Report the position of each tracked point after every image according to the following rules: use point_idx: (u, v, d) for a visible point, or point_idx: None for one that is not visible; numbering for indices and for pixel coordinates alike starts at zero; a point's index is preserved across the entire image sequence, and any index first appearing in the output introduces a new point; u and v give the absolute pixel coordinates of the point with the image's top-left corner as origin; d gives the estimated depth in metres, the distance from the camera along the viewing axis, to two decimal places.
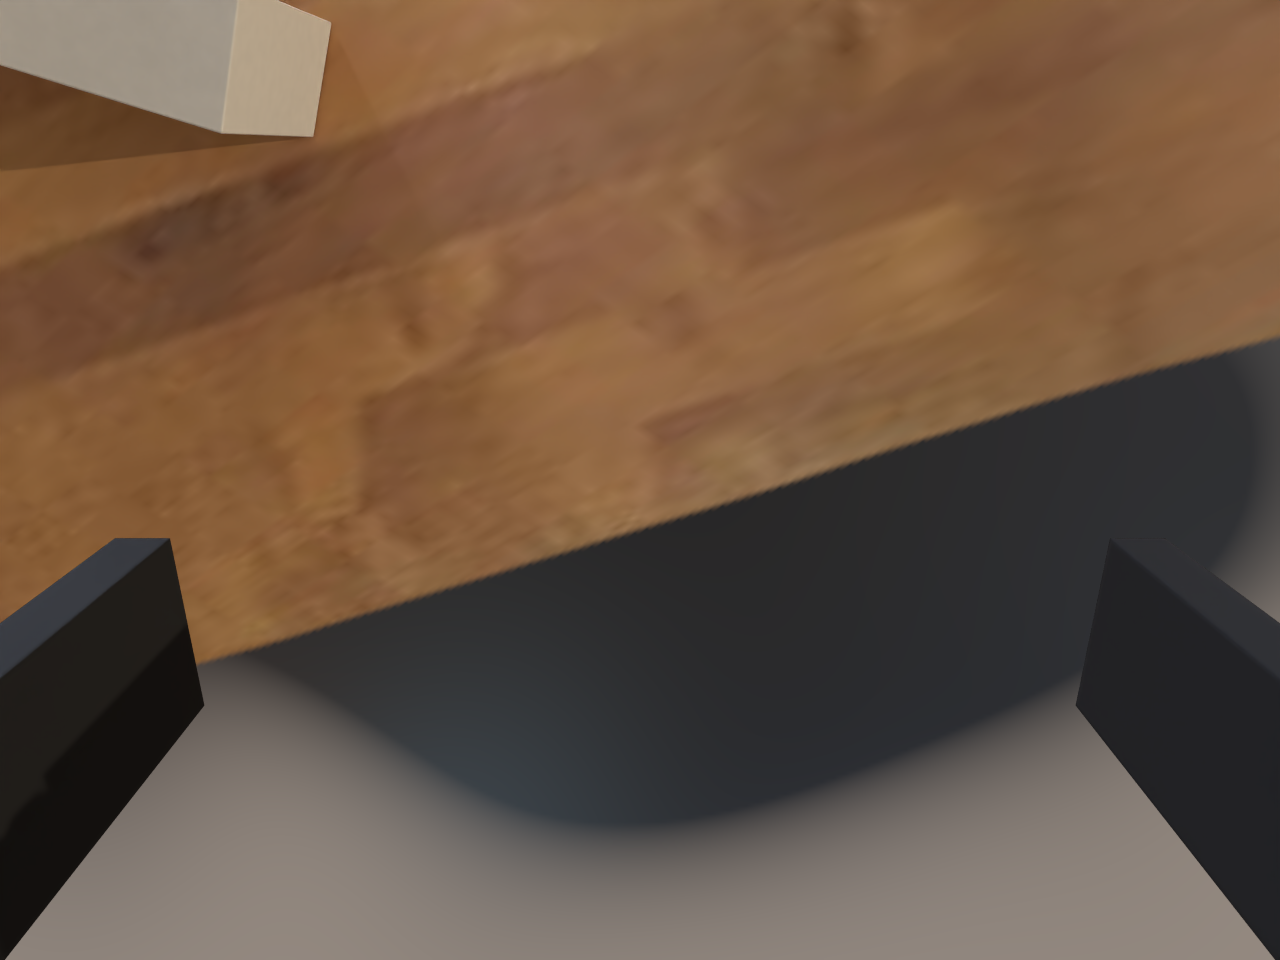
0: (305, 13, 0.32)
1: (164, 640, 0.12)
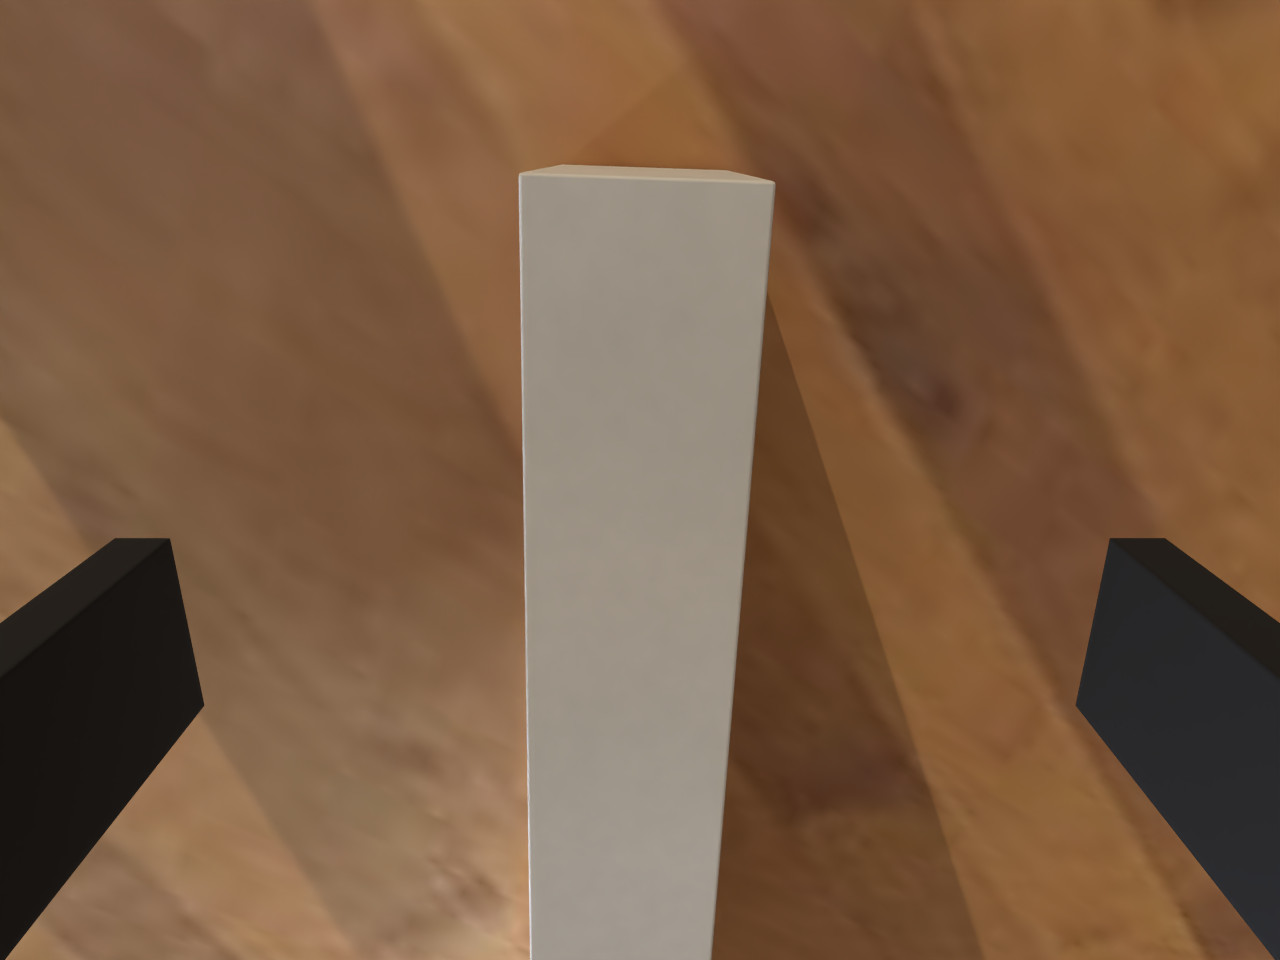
0: (552, 167, 0.20)
1: (164, 640, 0.12)
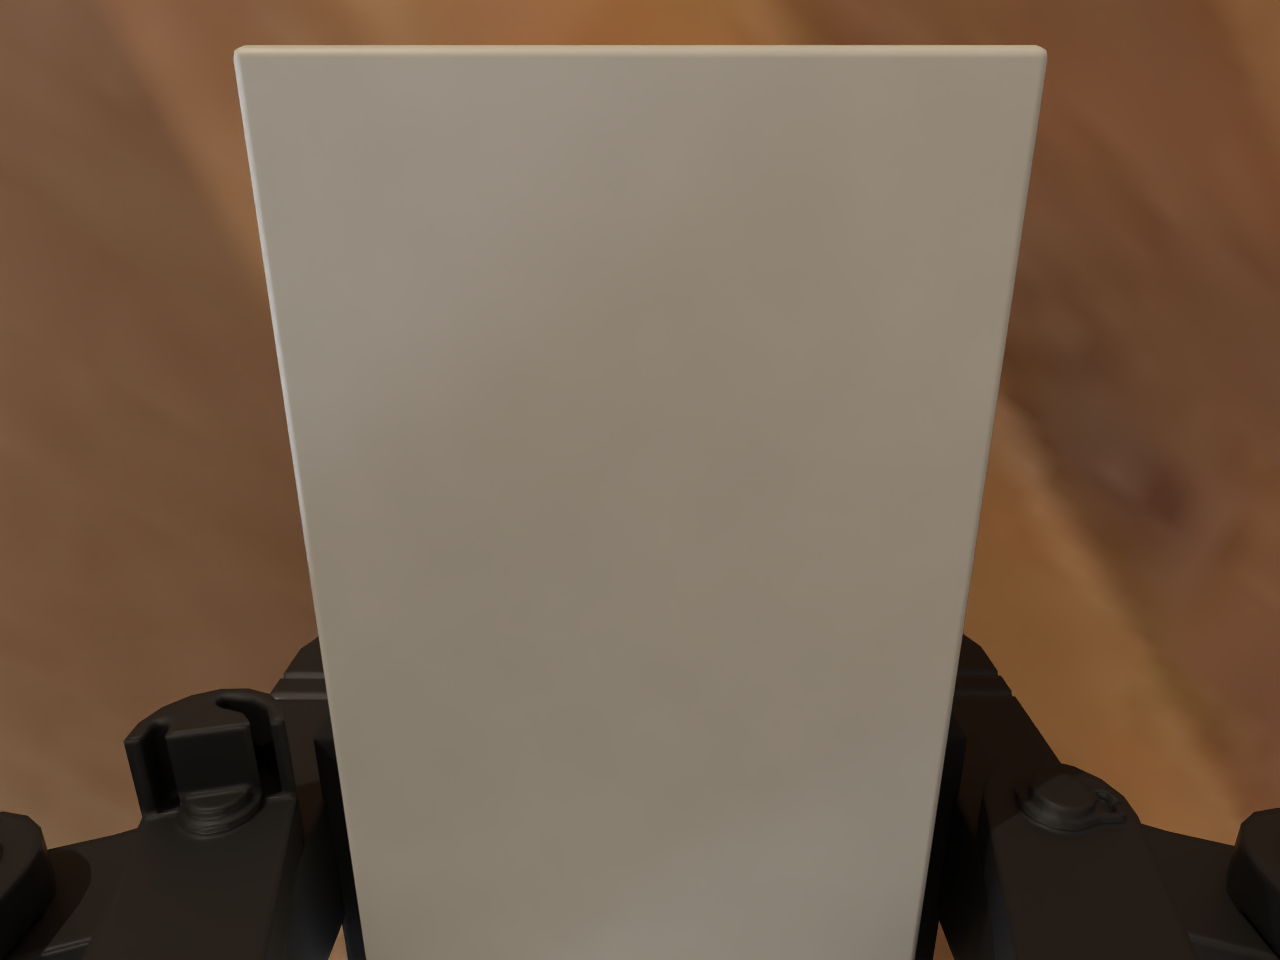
0: None
1: None
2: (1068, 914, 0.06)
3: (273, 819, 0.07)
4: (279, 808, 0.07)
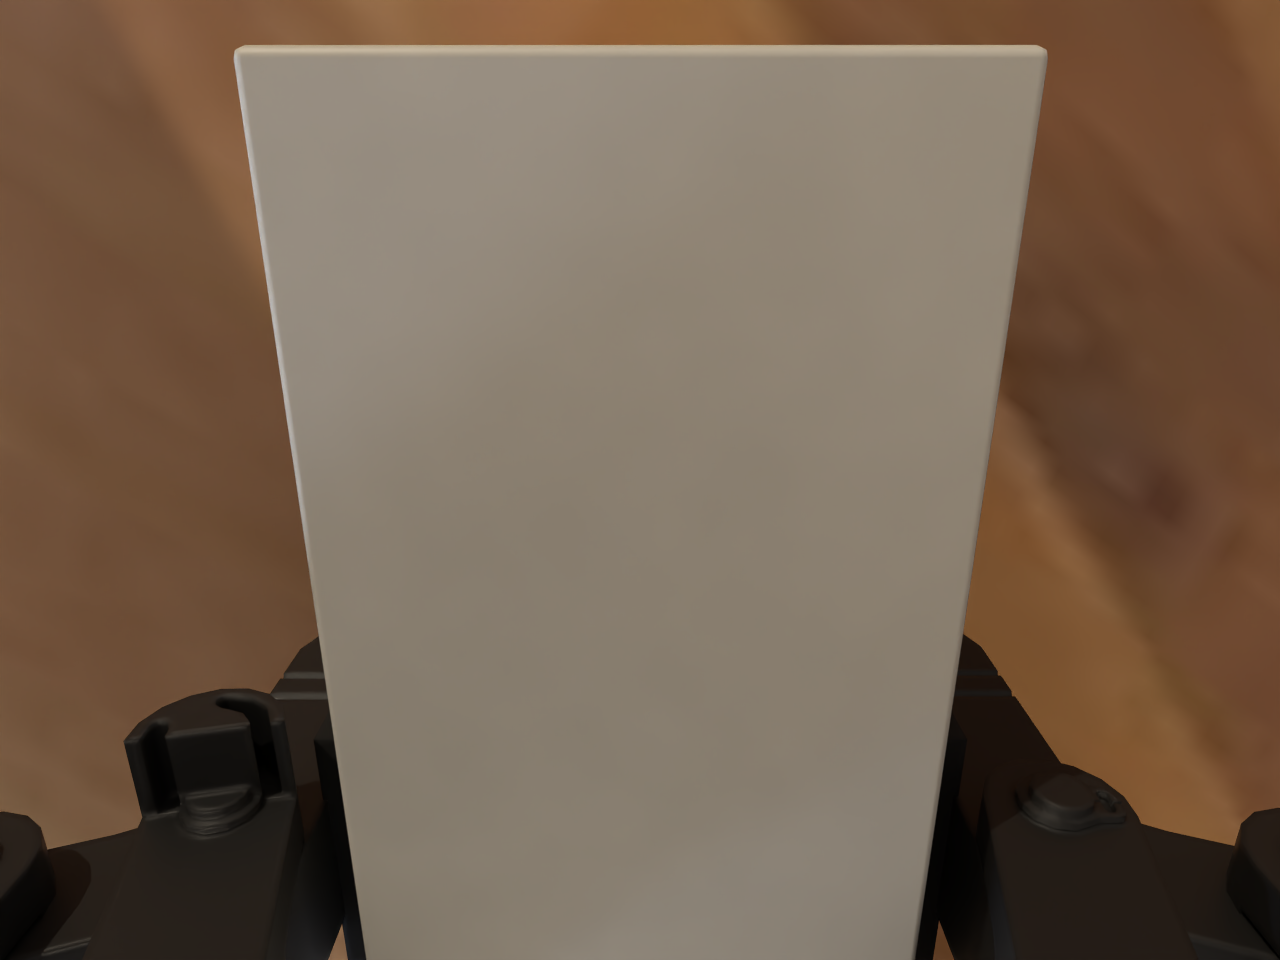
0: None
1: None
2: (1069, 915, 0.06)
3: (273, 819, 0.07)
4: (279, 808, 0.07)
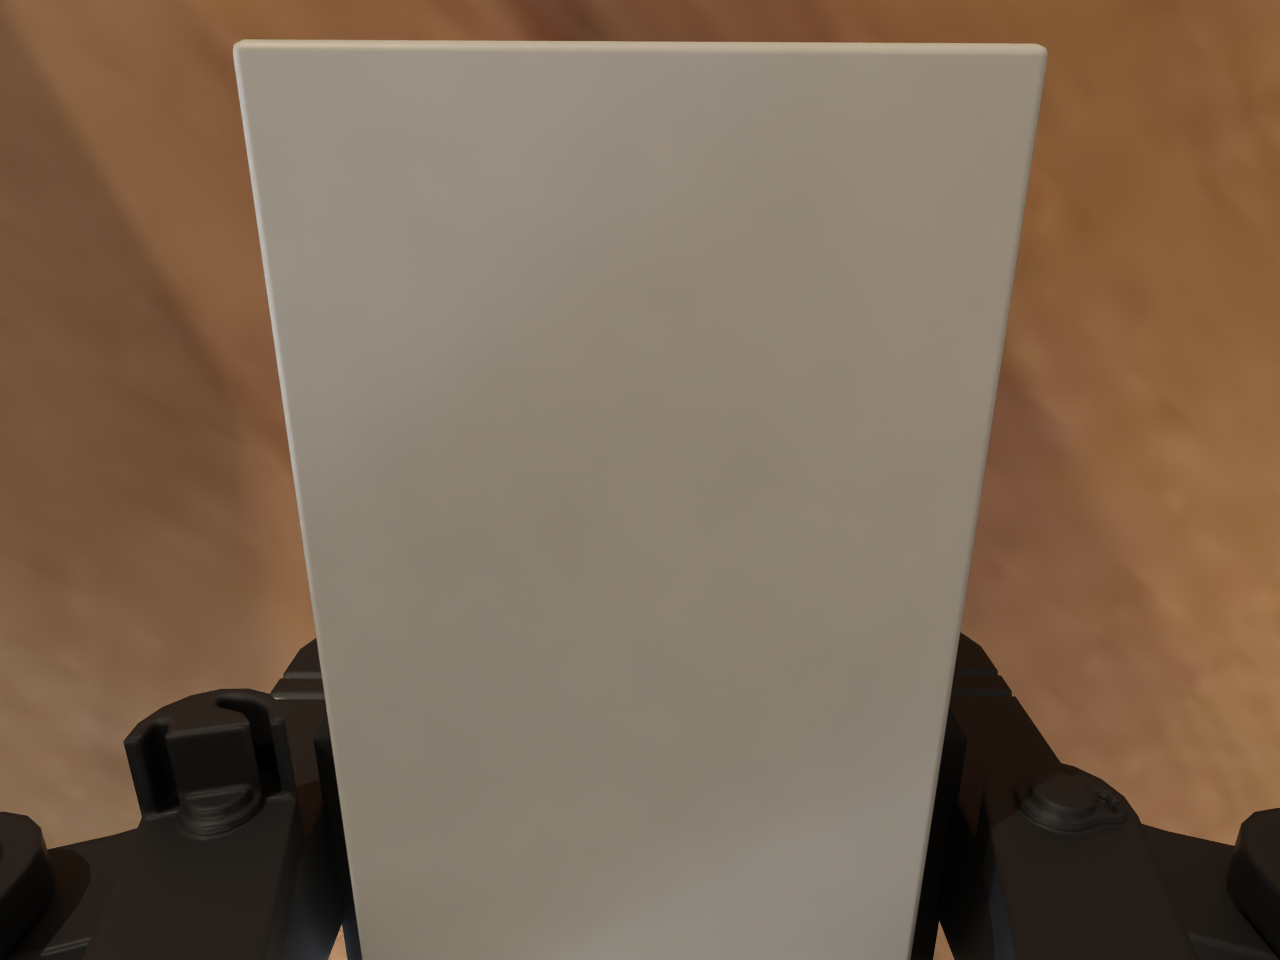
0: None
1: None
2: (1068, 914, 0.06)
3: (273, 819, 0.07)
4: (279, 808, 0.07)
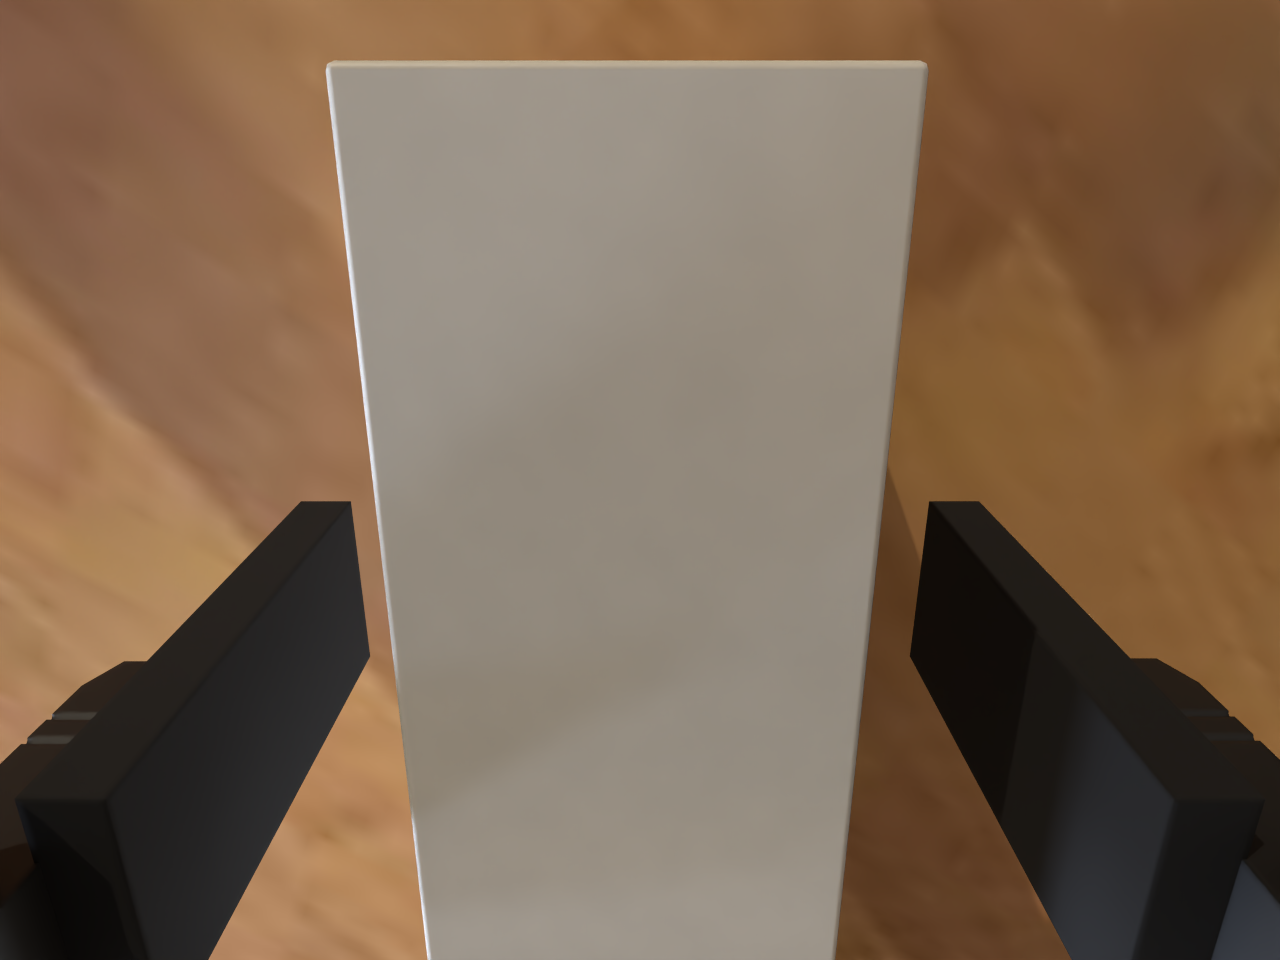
0: None
1: (347, 593, 0.13)
2: None
3: None
4: None
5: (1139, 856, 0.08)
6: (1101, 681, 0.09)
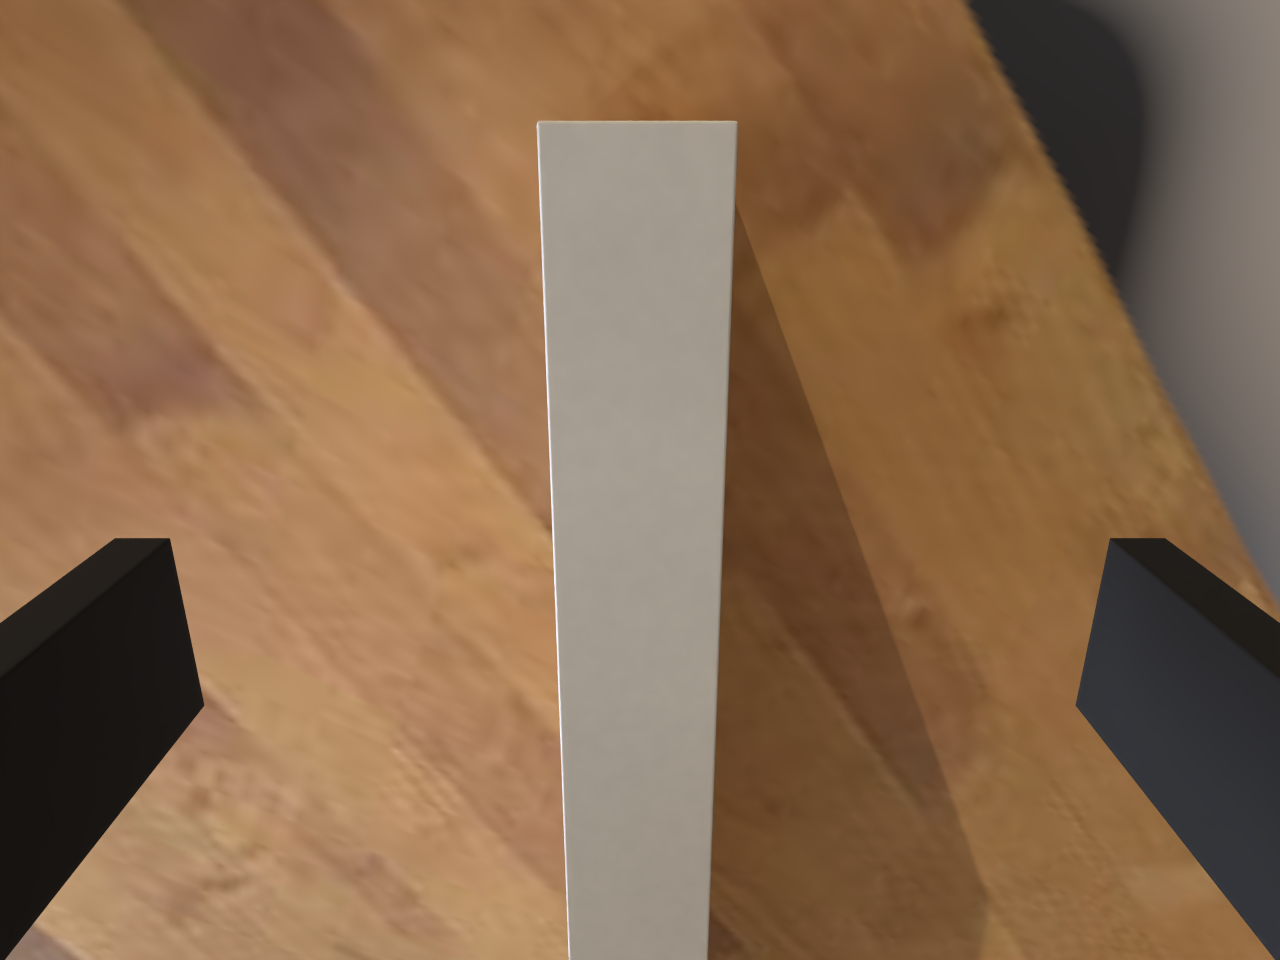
0: None
1: (164, 640, 0.12)
2: None
3: None
4: None
5: None
6: None
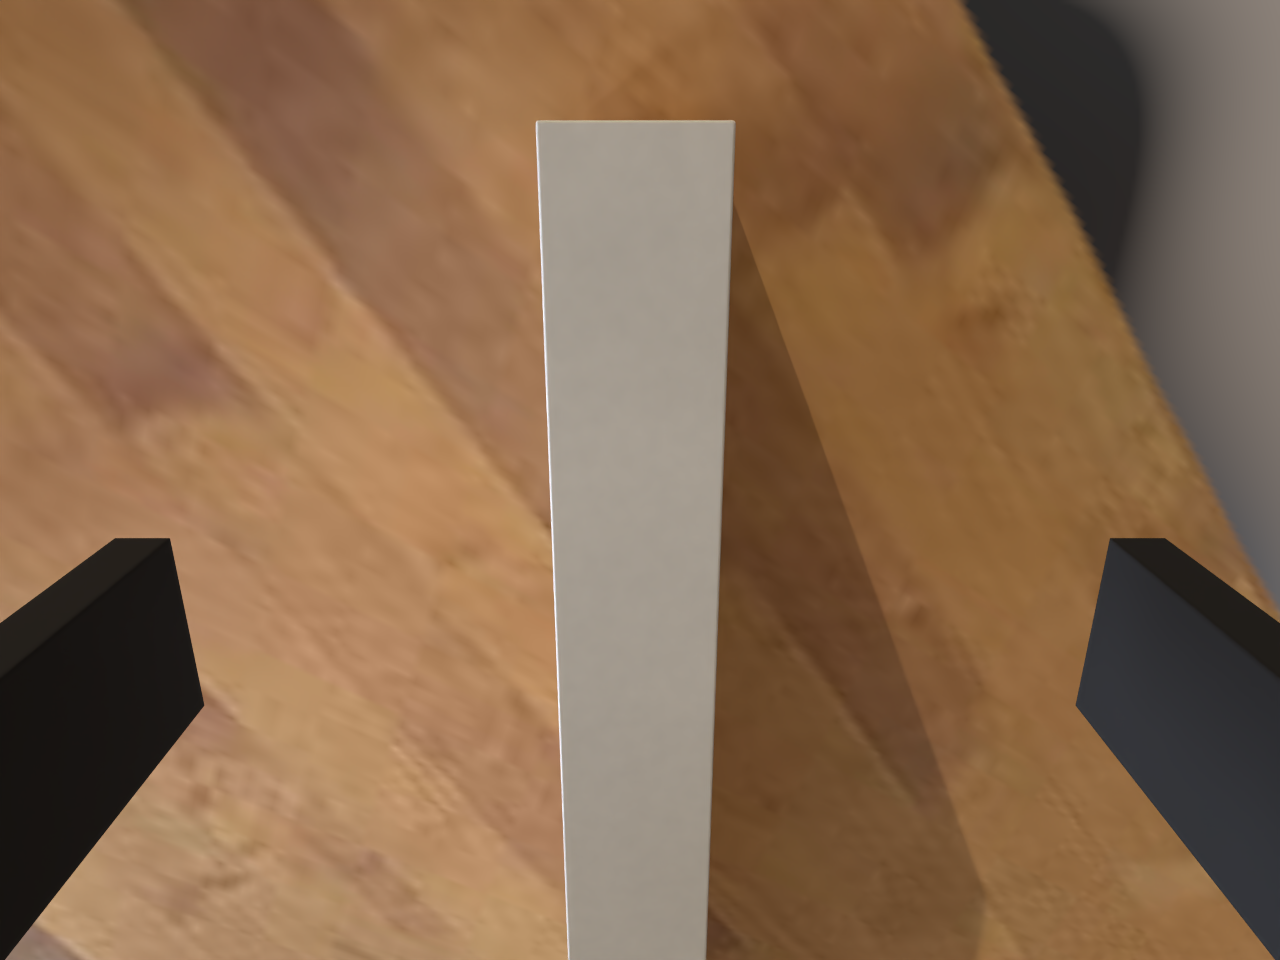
0: None
1: (164, 640, 0.12)
2: None
3: None
4: None
5: None
6: None
